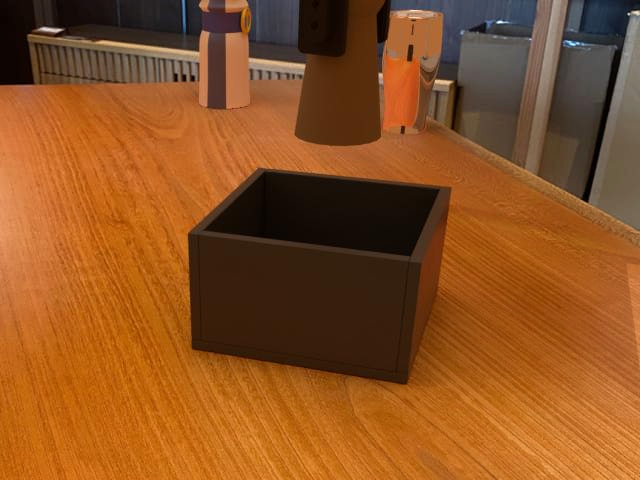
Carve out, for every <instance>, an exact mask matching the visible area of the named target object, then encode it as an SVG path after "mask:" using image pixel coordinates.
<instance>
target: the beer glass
mask: <svg viewBox="0 0 640 480" xmlns="http://www.w3.org/2000/svg"><path fill="white" fill-rule="evenodd" d="M443 28H444V14H443V13H442V12H440V11H435V10H425V9H400V10H399V9H397V10H390V19H389V31H388V39H387V40H386V41H385V42H383V44H382V56H381V60H382V61H381V62H382V63H381V64H382V65H381V66H382V67H381V68H382V71H381V72H382V84H383V95H384V97H383V98H384V115H383V121H382V125H381V130H383V131H385V132H388V133H392V134H398V135H415V134H421V133H425V132H427V117H428V109H429V105H430V100H431V96H432V93H433V89H434V86H435V82H436V79H437V75H438V72H439V68H440V67H439V66H440V62H441V55H442V47H443V46H442V44H443V30H444V29H443Z"/></svg>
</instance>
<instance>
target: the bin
mask: <svg viewBox="0 0 640 480" xmlns="http://www.w3.org/2000/svg"><path fill="white" fill-rule="evenodd" d="M452 190H453V188H452V186H446V185H435V184H427V183H426V184H425V183H415V182H408V181H407V182H406V181H398V180H397V181H396V180H387V179H386V180H385V179H377V178H368V177H367V178H366V177H359V176H357V177H356V176H345V175H338V174H327V173H316V172H307V171H298V170H297V171H296V170H287V169H278V168H267V167H266V168H265V167H257V168H256V169H255V170H254V171H253V172H252V173H251V174H250V175H249V176H248V177H246V178H245V179H244V180H243V181H242V182H241V183H240V184H239V185H238V186H237V187H236V188H235V189H234V190H233V191H232V192H230V193H229V194H228V195H227V196H226V197H225V198H224V199H223V200H222V201H221V202H219V203H218V205H216V206H215V207H214V208H213V209H212V210H211V211H210V212H209V213H208V214H206V215H205V217H203V218H202V220H200V221H199V222H198V223H197V224H196V225H195V226H194V227H193V228H191V229H190V230H189V231H188V232H187V250H188V251H187V255H188V276H189V278H188V281H189V282H188V283H189V306H190V307H189V309H190V310H189V311H190V338H191V339H190V340H191V341H190V342H191V349H194V350H200V351H206V352H211V353H218V354H224V355H230V356H236V357H240V358H241V357H242V358H247V359H248V358H249V359H253V360H254V359H255V360H261V361H266V362H271V363H272V362H273V363H278V364H284V365H290V366H295V367H303V368H308V369H314V370H320V371H327V372H332V373H339V374H345V375H351V376H356V377H363V378H368V379H375V380H380V381H385V382H393V383H398V384H405V385H407V384H408V381H409V378H410V376H411V372H412V370H413V367H414V364H415V360H416V357H417V354H418V351H419V348H420V345H421V342H422V339H423V336H424V332H425V330H426V327H427V324H428V321H429V319H430V315H431V312H432V310H433V306H434V303H435V300H436V298H437V294H438V291H439V284H440V276H441V270H442V261H443V254H444V249H445V248H444V246H445V242H446V241H445V240H446V233H447V226H448V219H449V212H450V205H451V198H452V197H451V195H452Z"/></svg>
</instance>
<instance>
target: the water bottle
mask: <svg viewBox="0 0 640 480" xmlns="http://www.w3.org/2000/svg"><path fill="white" fill-rule="evenodd" d="M198 7H199V8H200V9H201V24H202V25H201V26H202V30H201V31H200V32H201V33H200V36H199V46H198V47H199V49H198V50H199V52H198V54H199V55H198V56H199V81H198V83H199V85H198V105H199V106H201V107H204V108H209V109H217V110H230V109H231V110H232V108H233V109H239V108H240V107H241V108H245V107H247V106H249V105H250V104H251V94H250V92H251V91H250V50H249V49H250V48H249V47H250V44H249V43H250V42H249V35H248V34H249V32H250V30H251V26H252V12H251V9H250V7H249V3H248V1H247V0H200V2H199V3H198ZM241 108H240V109H241Z"/></svg>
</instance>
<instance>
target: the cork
mask: <svg viewBox="0 0 640 480" xmlns="http://www.w3.org/2000/svg"><path fill="white" fill-rule="evenodd" d="M384 2H385V0H349V9H348V25H347V41H346V52H345V54H344V55H342V56H340V57H330V56H321V55H313V54H306V59H305V60H306V61H305V65H304V72H303V77H302V83H301V90H300V96H299V103H298V108H297V114H296V119H295V120H296V121H295V125H294V126H295V128H294V137H296V139H298V140H301V141H303V142H305V143H309V144H314V145H321V146H329V147H353V146H362V145H368V144H372V143H374V142H377V141H378V140H380V139H381V137H382V125H381V123H382V122H381V100H380V99H381V98H380V74H379V73H380V72H379V47H378V46H379V45H378V44H379V43H377V17H376V14H377V13H378V11H379V10H380V9H381V7H382V6H383V4H384Z"/></svg>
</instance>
